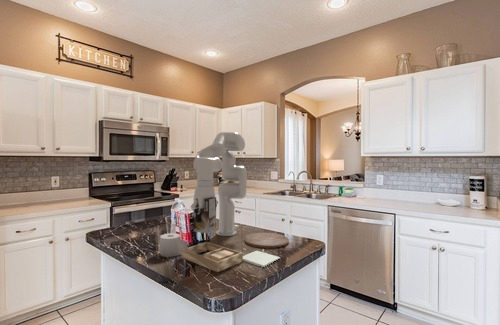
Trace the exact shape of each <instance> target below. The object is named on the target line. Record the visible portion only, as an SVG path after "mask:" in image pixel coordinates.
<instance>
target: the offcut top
mask: <svg viewBox="0 0 500 325" xmlns="http://www.w3.org/2000/svg"><path fill="white" fill-rule="evenodd" d="M233 255H235V253H233V252H230V251H227V250H223V251H220V252H217V253H214V254H211V255H210V259H212V260H215V261H221V260H223V259H226V258H228V257H231V256H233Z"/></svg>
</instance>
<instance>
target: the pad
mask: <svg viewBox="0 0 500 325" xmlns="http://www.w3.org/2000/svg"><path fill="white" fill-rule="evenodd" d="M278 259H280V260H281V257H280V256H277V255H273V254H270V253H266V252H264V251H259V250H255V251H252V252H250V253H247V254H245V255H244V254H243V261H242V262H245V263H248V264H251V265H254V266H258V267H260V266H261V267H260V268H263V267H264V268H266V267H268V266H270V265H272V264H274V263H275V262H274V261H276V260H278ZM278 261H279V260H278ZM273 262H274V263H273ZM276 262H277V261H276ZM271 263H272V264H271ZM269 264H270V265H269ZM267 265H268V266H267ZM265 266H266V267H265Z"/></svg>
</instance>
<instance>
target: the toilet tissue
mask: <svg viewBox="0 0 500 325" xmlns="http://www.w3.org/2000/svg"><path fill="white" fill-rule="evenodd" d="M159 239H160V240H159V242H160V243H159V256H162V257H165V258H167V257H168V258H169V257H176V256H182V249H185V248H188V241H186V240H183V239H181V235H180V234H179V233H171V232H170V233H164V234H161V235H160V238H159Z"/></svg>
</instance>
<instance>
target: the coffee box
mask: <svg viewBox="0 0 500 325" xmlns="http://www.w3.org/2000/svg"><path fill="white" fill-rule="evenodd" d="M216 200H217V197H216V196H215V197H212V198H208V199H204V207H203V208H202V210H201V213H200V214H201V223H198V222H196V214H195V213H194V212H193V232H194V233H195V232H196V233H202V234H211V233H213V232H214V233H215V232H217V207H216ZM197 205H198V204H197ZM197 205H196V207H197ZM196 207H195V208H196ZM198 207H199V205H198ZM198 210H199V209H198Z"/></svg>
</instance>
